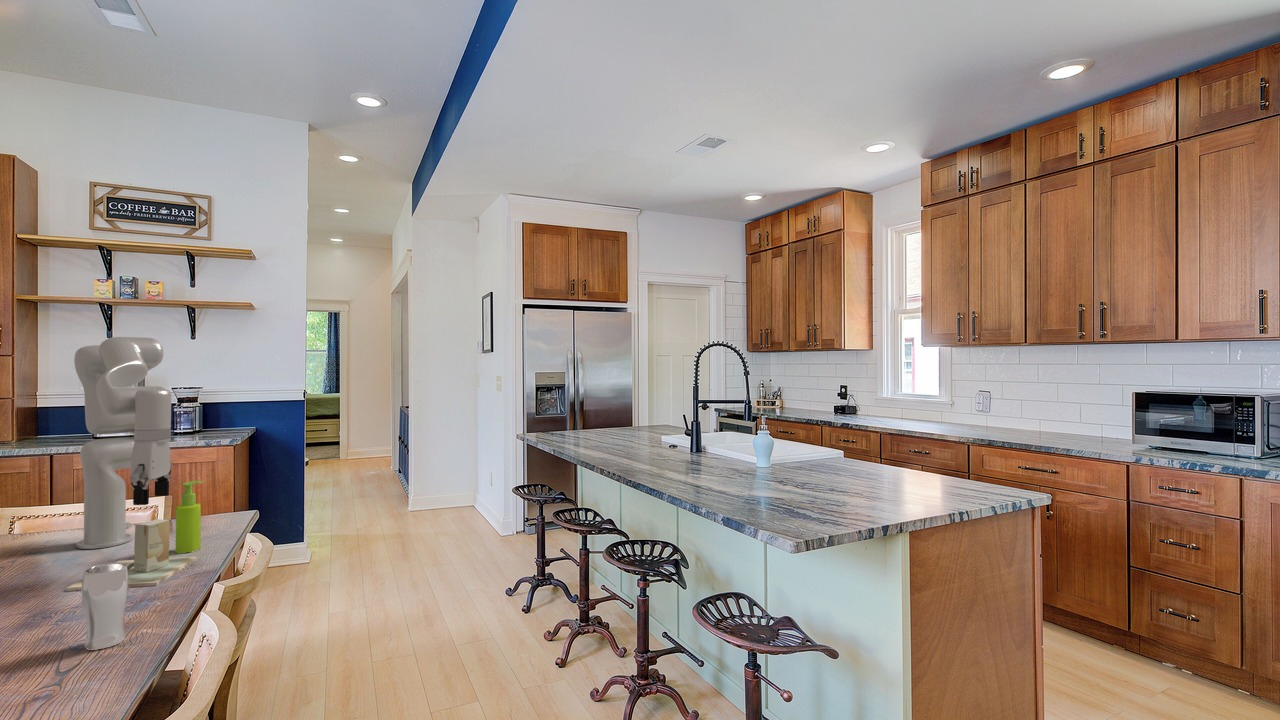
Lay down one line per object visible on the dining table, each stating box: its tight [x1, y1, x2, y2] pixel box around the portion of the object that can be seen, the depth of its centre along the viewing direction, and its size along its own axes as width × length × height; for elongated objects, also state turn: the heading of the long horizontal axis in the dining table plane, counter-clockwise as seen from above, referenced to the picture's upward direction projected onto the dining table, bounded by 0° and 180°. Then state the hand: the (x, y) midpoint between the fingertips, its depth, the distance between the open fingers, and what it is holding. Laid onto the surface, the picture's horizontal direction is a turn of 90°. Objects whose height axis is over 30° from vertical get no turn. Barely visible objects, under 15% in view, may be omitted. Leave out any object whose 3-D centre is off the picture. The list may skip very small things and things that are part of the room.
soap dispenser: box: [175, 480, 205, 554], centre depth 179 cm, size 6×7×20 cm
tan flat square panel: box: [65, 556, 197, 592], centre depth 159 cm, size 20×19×1 cm
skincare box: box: [133, 518, 171, 572], centre depth 161 cm, size 6×4×12 cm
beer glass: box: [81, 562, 129, 649], centre depth 120 cm, size 7×7×15 cm
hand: (151, 500), depth 161 cm, fingers open, 9 cm apart
